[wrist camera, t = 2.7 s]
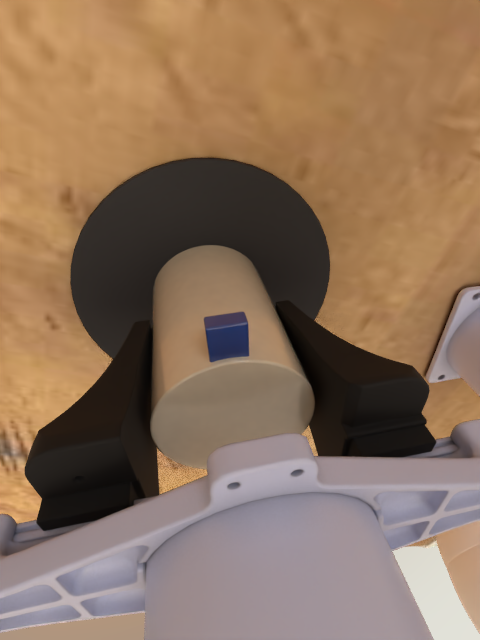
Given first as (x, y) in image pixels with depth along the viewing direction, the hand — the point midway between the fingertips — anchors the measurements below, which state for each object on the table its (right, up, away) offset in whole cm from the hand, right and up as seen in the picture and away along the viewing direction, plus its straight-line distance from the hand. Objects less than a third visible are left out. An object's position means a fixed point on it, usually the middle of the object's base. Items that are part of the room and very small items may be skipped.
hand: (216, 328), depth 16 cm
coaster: (-1, +2, +2) cm, 3 cm away
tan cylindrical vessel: (0, +1, +3) cm, 3 cm away
